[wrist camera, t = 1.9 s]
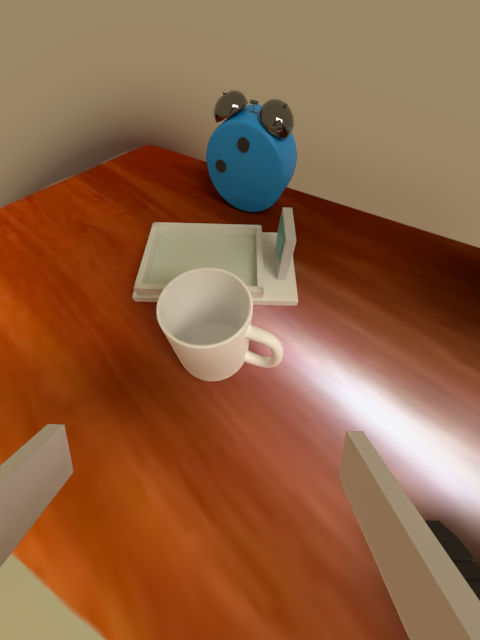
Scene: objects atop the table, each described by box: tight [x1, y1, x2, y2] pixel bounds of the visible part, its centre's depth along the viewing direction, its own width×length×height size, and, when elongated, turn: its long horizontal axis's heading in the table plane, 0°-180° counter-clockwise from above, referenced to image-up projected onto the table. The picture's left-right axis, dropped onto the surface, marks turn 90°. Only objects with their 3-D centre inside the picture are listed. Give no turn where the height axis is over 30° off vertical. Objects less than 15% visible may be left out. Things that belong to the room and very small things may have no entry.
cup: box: [156, 267, 283, 381], centre depth 25 cm, size 8×12×10 cm
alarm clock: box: [206, 90, 297, 212], centre depth 37 cm, size 13×6×15 cm, turn 64°
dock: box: [132, 207, 298, 306], centre depth 33 cm, size 22×13×8 cm, turn 89°
